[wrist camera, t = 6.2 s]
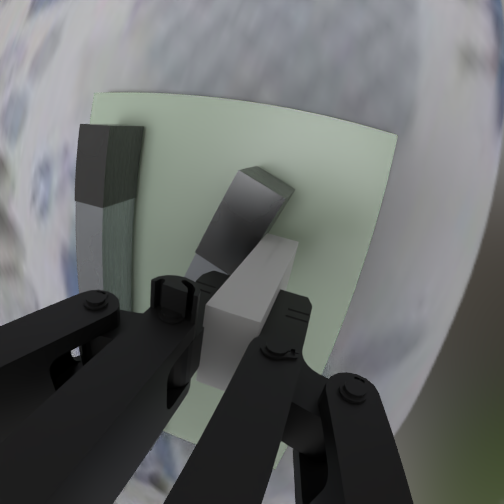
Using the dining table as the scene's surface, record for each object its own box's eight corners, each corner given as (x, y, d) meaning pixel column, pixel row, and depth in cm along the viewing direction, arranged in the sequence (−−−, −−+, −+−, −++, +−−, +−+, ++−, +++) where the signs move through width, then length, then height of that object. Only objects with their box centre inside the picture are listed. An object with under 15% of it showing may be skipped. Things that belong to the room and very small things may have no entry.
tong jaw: (145, 376, 21) (125, 400, 19) (256, 165, 14) (238, 170, 12) (168, 392, 21) (150, 418, 19) (295, 189, 14) (285, 198, 12)
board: (109, 393, 26) (102, 400, 25) (106, 94, 17) (94, 92, 15) (277, 459, 23) (274, 469, 22) (393, 136, 14) (397, 135, 12)
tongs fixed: (120, 408, 24) (99, 435, 21) (115, 123, 16) (69, 124, 12) (164, 429, 24) (144, 459, 20) (183, 130, 15) (142, 128, 11)
